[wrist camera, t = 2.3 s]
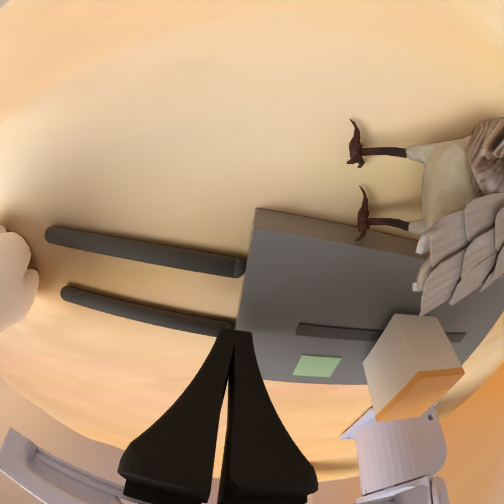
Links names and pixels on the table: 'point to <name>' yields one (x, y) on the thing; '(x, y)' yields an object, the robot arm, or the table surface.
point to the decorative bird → (452, 211)
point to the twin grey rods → (154, 256)
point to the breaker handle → (410, 367)
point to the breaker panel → (340, 298)
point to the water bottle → (15, 279)
